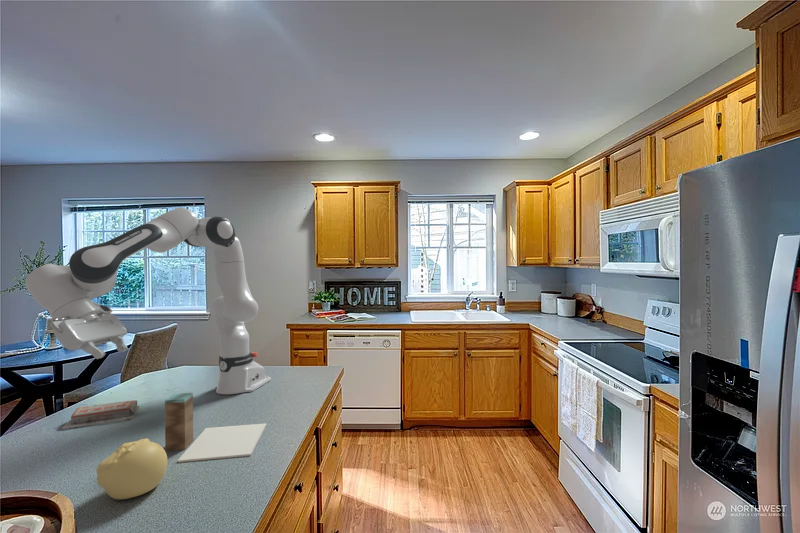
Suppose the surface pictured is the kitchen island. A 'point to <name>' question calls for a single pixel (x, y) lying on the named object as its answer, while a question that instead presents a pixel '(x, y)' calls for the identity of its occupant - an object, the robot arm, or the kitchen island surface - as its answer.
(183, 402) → the walnut block
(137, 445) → the sculpture
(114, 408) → the packaged product
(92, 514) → the kitchen island surface
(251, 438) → the cream mat
